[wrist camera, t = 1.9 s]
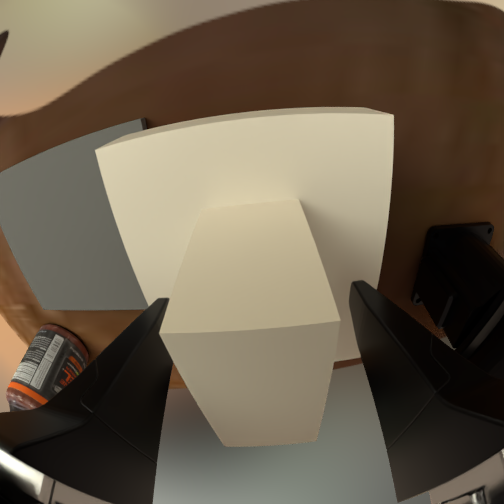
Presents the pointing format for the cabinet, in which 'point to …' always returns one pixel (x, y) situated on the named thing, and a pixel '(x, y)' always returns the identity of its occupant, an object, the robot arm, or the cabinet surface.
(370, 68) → the cabinet surface
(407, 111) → the cabinet surface
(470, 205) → the cabinet surface
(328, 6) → the cabinet surface
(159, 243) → the lid
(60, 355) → the supplement bottle
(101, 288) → the mat
